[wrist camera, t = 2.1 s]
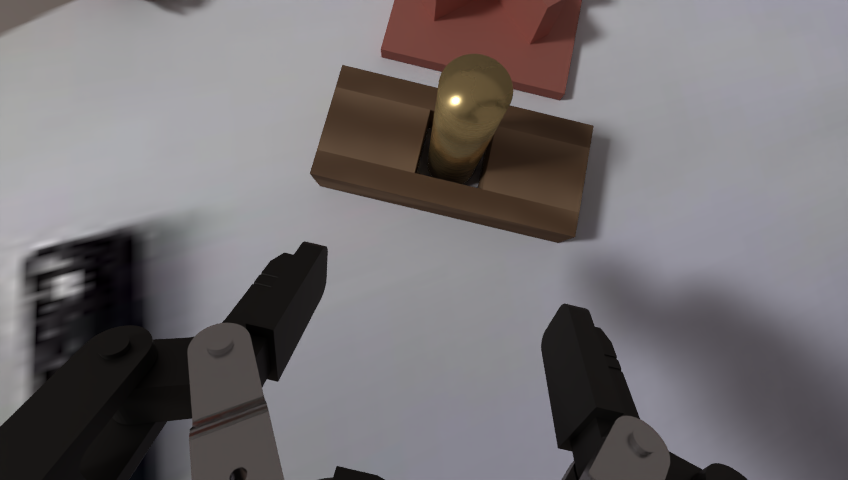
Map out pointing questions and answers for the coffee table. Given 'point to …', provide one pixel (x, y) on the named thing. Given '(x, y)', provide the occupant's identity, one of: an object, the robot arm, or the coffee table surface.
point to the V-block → (489, 37)
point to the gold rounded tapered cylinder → (467, 115)
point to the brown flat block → (400, 184)
